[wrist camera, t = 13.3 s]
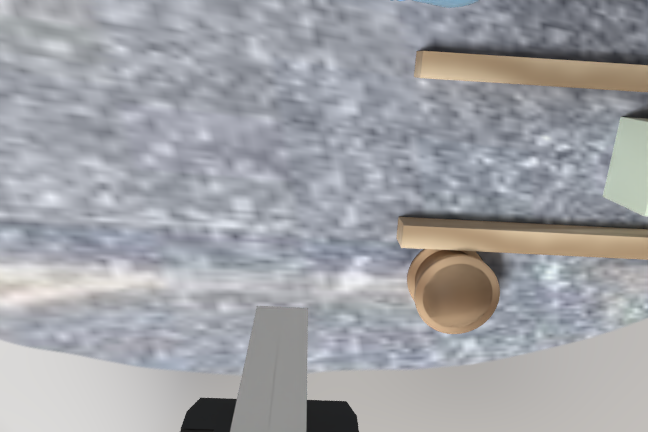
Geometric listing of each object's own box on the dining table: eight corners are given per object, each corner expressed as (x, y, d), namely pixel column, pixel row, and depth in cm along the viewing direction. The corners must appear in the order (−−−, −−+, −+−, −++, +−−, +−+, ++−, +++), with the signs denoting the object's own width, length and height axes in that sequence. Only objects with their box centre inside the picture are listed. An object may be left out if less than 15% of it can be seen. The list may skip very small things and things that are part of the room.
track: (416, 51, 41) (430, 50, 36) (750, 72, 42) (806, 74, 37) (396, 237, 46) (406, 258, 41) (697, 252, 47) (741, 274, 42)
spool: (410, 239, 46) (419, 255, 42) (489, 241, 46) (505, 258, 42) (403, 311, 48) (412, 333, 44) (479, 313, 48) (493, 334, 44)
